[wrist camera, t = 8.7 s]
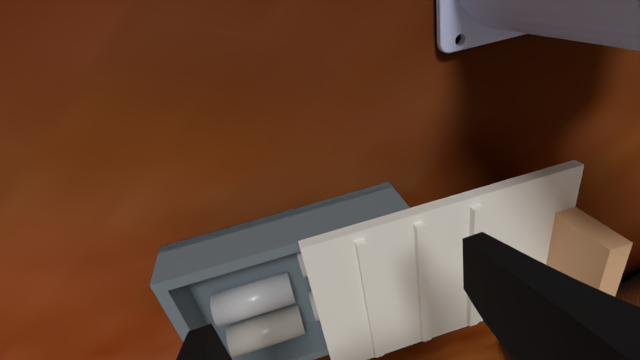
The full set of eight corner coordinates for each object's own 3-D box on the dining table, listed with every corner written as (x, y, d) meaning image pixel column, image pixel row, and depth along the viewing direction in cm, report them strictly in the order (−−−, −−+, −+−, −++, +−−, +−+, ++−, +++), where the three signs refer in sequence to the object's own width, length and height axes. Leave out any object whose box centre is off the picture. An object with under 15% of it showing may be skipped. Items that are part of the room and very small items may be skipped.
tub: (388, 182, 21) (410, 208, 18) (399, 291, 25) (418, 324, 23) (159, 246, 19) (149, 285, 17) (214, 350, 24) (213, 392, 21)
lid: (553, 149, 20) (648, 196, 15) (533, 274, 25) (601, 338, 20) (293, 224, 18) (314, 301, 14) (325, 342, 23) (349, 427, 19)
